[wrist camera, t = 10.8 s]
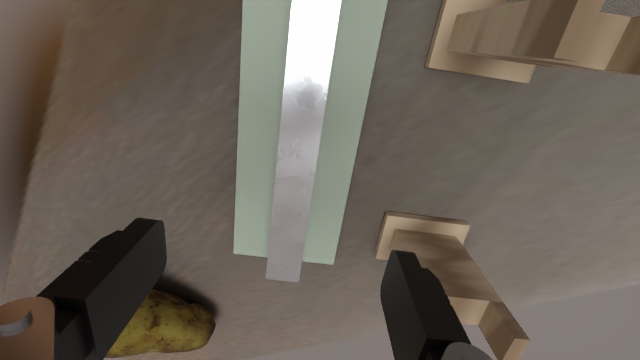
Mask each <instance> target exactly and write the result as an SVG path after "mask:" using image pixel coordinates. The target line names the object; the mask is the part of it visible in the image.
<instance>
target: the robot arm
mask: <svg viewBox="0 0 640 360" xmlns="http://www.w3.org/2000/svg"><path fill="white" fill-rule="evenodd" d="M166 259H167V255H166V242H165V229H164V223H163V221H161V220H153V219H145V218H136V219H135V220H134V221H133V222H132V223H131V224H129V225H128V226H127V227H126V228H125V229H124V230H123V231H119V230H117V231H115V232H113V233H111V234H109V235H107V236H105V237H103V238H101V239H100V240H99V241H98V242H97V243H96V244H94V245H93V246H92V247H91V248H90V249H89V251H88V252H85V253H84V254H83V255H82V256H81V257H80V258H79V260H78V261H75V262H74V263H73V264H72V265H71V266H70V267H69V268H67V269H66V270H65V271H64V272H63V273H62V274H61V275H60V276H58V277H57V278H56V279H55V280H54V281H53V282H52V283H50V284H49V285H48V286H47V287H46V288H45V289H44V290H43V291H41V292H40V293H39V294H38V295H37V296H36V297H26V298H21V299H17V300H14V301H11V302H8V303H6V304H3V305H1V306H0V360H103V359H104V358H105V356H106V355H107V353H108V352H109V350H110V349H111V347H112V346H113V345H114V343H115V342H116V340H117V339H118V337H119V336H120V334H121V333H122V331H123V330H124V329H125V327H126V326H127V324H128V323H129V321H130V320H131V318H132V317H133V316H134V314H135V313H136V311H137V310H138V308H139V307H140V305H141V304H142V303H143V301H144V300H145V298H146V297H147V295H148V294H149V292H150V291H151V289H152V288H153V287H154V285H155V284H156V282H157V281H158V279H159V278H160V276H161V275H162V273H163V271H164V268H165V265H166ZM381 302H382V307H383V311H384V315H385V320H386V324H387V328H388V333H389V337H390V341H391V346H392V350H393V354H394V358H395V360H492V359H491V358H490V357H489V356H488V355H487V354H486V353H484V352H483V351H482V350H480V349H479V348H477V347H475V346H473V345H471V343H470V341H469V339H468V337H467V335H466V333H465V330H464V329H463V327H462V325H461V322H460V320H459V318H458V316H457V314H456V312H455V310H454V308H453V306H452V305H450V300H449V298H448V296H447V294H445V290H444V288H443V286H442V284H441V282H440V280H439V279H438V278H437V277H436V276H435V275H434V274H433V273H432V272H431V271H430V270H429V269H428V268H422V267H421V265H420V263H419V260H418V258H417V256H416V254H415V253H414V252H408V251H399V250H392V251H391V253H390V256H389V259H388V263H387V266H386V270H385V273H384V276H383V280H382V283H381Z"/></svg>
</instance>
